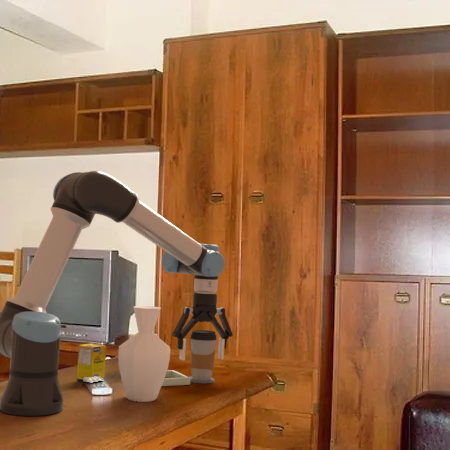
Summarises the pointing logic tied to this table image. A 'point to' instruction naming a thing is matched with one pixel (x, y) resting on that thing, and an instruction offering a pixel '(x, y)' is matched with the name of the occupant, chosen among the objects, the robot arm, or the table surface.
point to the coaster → (201, 381)
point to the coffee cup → (202, 354)
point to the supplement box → (91, 361)
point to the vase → (143, 358)
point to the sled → (173, 376)
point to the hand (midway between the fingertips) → (201, 359)
